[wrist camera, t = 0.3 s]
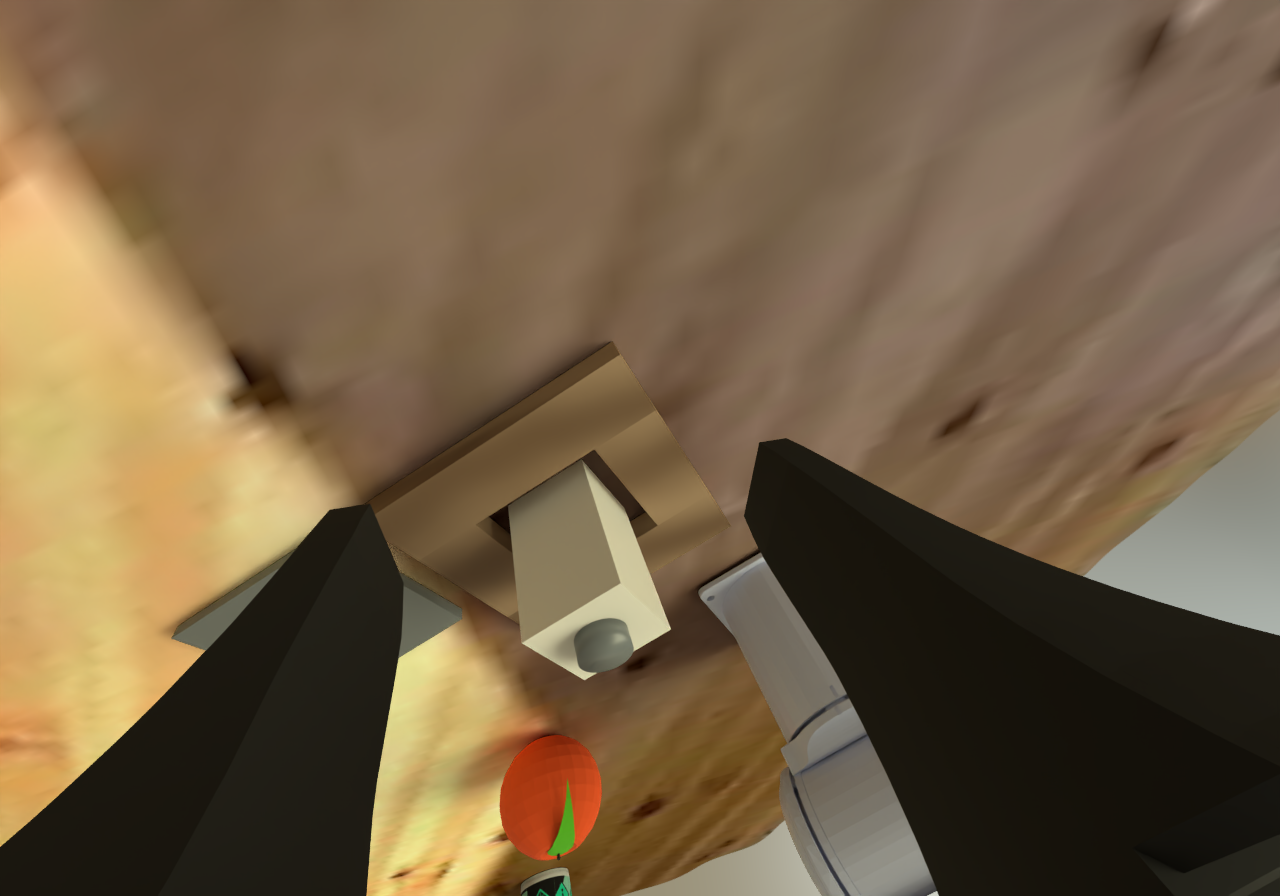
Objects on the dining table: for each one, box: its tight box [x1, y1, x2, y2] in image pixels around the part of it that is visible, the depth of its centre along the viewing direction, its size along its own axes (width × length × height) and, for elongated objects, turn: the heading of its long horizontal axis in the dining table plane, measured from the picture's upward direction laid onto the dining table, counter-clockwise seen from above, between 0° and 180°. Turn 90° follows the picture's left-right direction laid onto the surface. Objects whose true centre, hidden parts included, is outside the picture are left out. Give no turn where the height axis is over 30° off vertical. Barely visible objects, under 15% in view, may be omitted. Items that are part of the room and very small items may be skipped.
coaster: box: [171, 549, 462, 658], centre depth 22 cm, size 8×8×1 cm
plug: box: [508, 459, 671, 680], centre depth 19 cm, size 4×4×8 cm
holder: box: [365, 341, 731, 625], centre depth 22 cm, size 12×12×1 cm
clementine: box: [500, 735, 602, 860], centre depth 32 cm, size 8×7×7 cm
